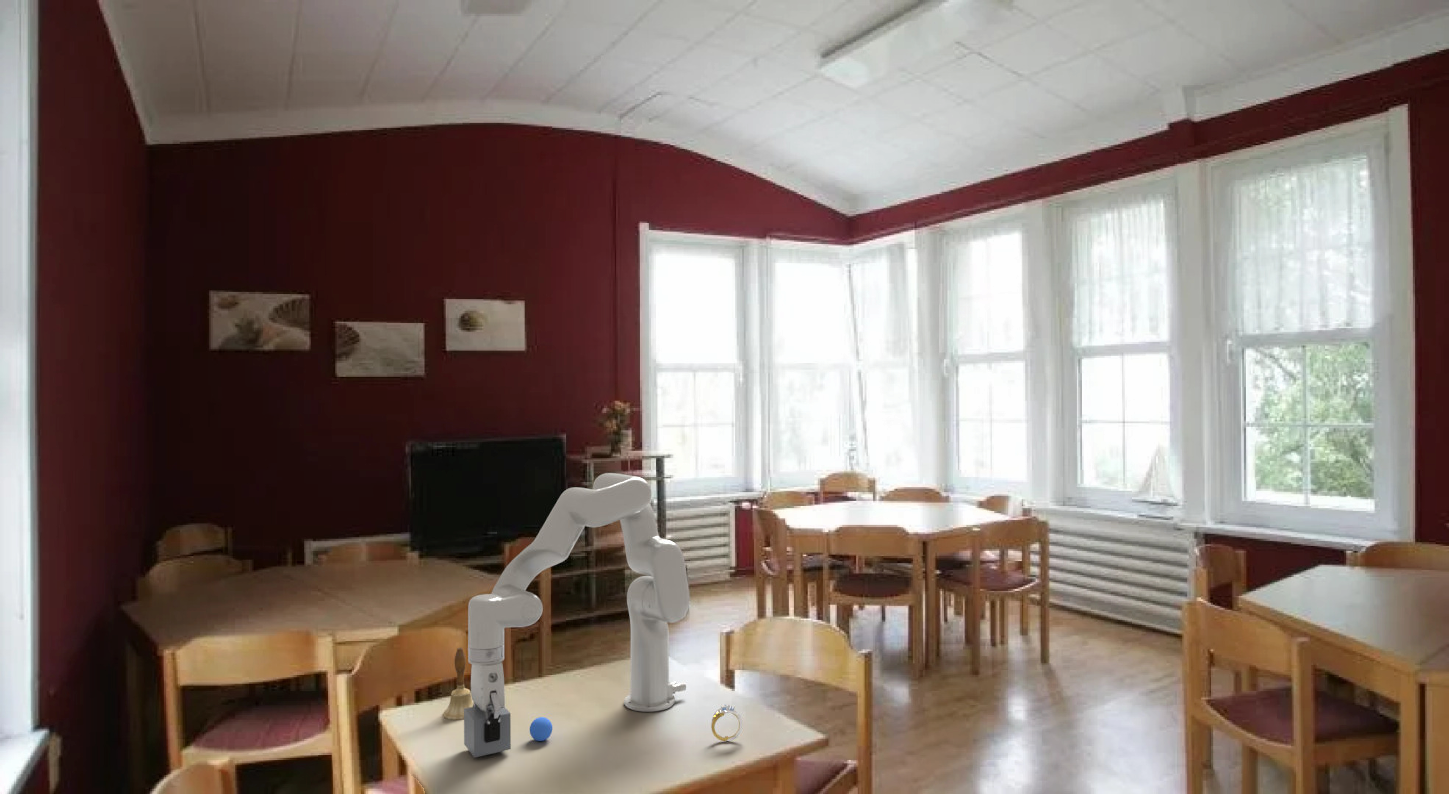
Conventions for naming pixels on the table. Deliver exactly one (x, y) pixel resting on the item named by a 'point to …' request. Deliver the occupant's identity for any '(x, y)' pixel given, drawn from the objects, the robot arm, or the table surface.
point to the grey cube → (475, 732)
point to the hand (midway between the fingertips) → (486, 733)
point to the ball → (541, 729)
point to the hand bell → (459, 691)
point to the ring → (724, 711)
